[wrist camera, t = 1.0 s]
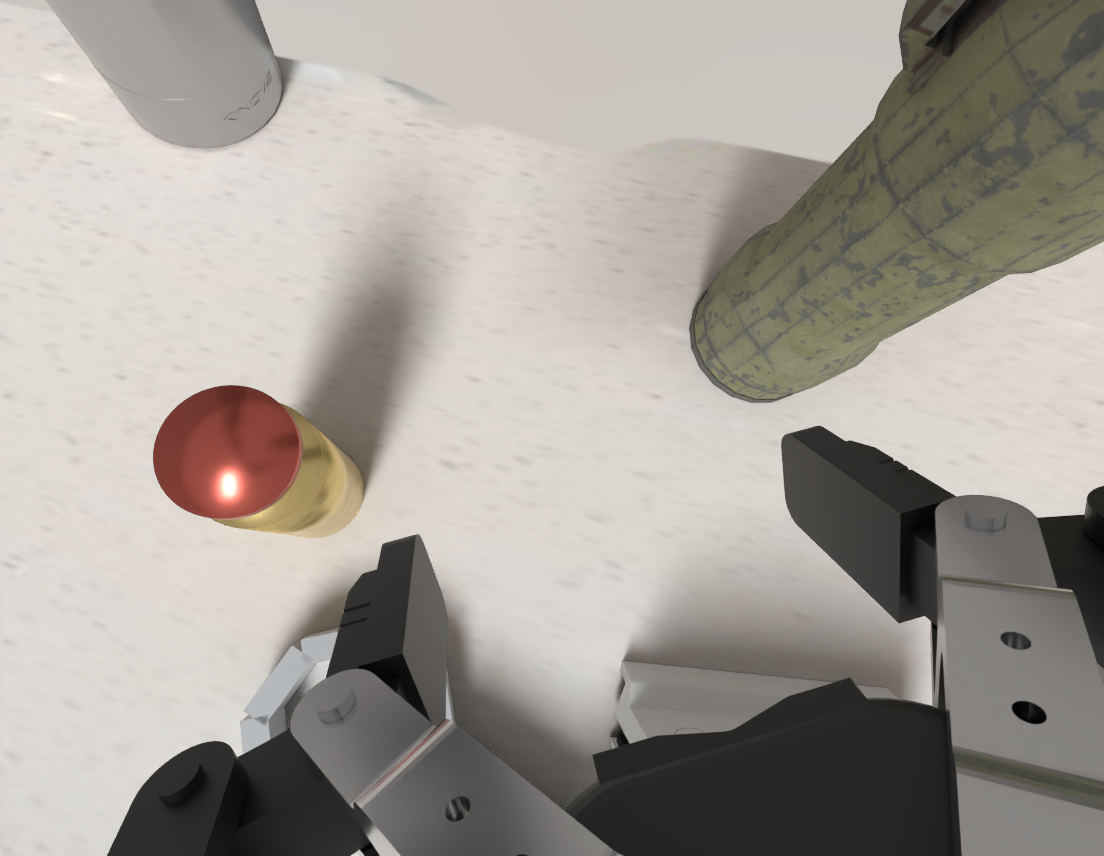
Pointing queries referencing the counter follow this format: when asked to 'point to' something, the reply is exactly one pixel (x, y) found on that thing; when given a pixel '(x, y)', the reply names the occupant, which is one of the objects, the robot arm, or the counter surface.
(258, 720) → the grey octagonal holder
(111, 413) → the counter surface
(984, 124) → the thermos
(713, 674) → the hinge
